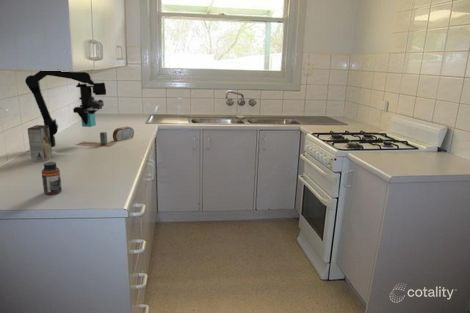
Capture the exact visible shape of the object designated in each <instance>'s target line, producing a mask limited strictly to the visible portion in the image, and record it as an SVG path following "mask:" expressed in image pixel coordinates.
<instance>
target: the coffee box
mask: <svg viewBox="0 0 470 313" xmlns="http://www.w3.org/2000/svg"><path fill="white" fill-rule="evenodd" d="M27 135H28V136H27V137H28V144H29V150H30V151H29V152H30V158H31V159H30V160H31V162H46V161H48V160H49V159H52V158H53V149H52V148H53V147H51V138H50V130H49V125H44V124H43V125H42V124H41V125H39V124H37V125H34V126H33V125H32V126H31V127H28V128H27Z"/></svg>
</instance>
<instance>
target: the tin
mask: <svg viewBox="0 0 470 313" xmlns="http://www.w3.org/2000/svg"><path fill="white" fill-rule="evenodd" d="M134 133H135V131H134V129H133V127H130V126H124V127H123V126H122V127H117V128H115V129H114V131H113V133H112V139H113V141H115V142H119V141H124V140H127V139H133V138H134V136H135V134H134Z"/></svg>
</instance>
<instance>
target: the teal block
mask: <svg viewBox="0 0 470 313" xmlns="http://www.w3.org/2000/svg"><path fill="white" fill-rule="evenodd" d="M80 118H81V117H80ZM96 125H97V124H96V113H95V114H90V113H89V114H88V122H87V124H85V123H84V122H83V120H82V118H81V127H87V128H92V127H94V126H96Z"/></svg>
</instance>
